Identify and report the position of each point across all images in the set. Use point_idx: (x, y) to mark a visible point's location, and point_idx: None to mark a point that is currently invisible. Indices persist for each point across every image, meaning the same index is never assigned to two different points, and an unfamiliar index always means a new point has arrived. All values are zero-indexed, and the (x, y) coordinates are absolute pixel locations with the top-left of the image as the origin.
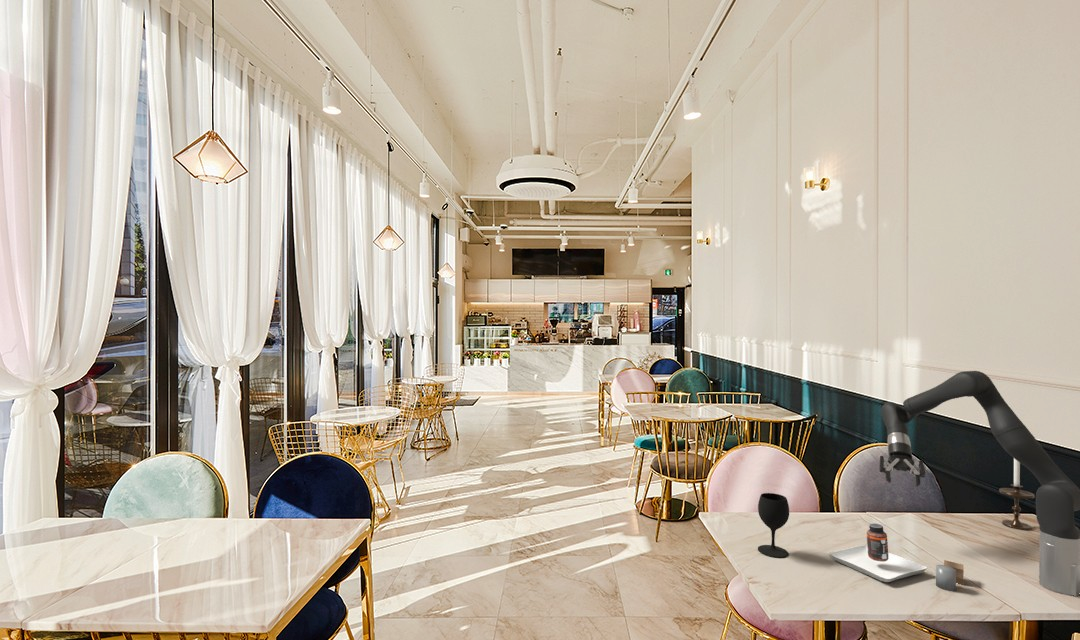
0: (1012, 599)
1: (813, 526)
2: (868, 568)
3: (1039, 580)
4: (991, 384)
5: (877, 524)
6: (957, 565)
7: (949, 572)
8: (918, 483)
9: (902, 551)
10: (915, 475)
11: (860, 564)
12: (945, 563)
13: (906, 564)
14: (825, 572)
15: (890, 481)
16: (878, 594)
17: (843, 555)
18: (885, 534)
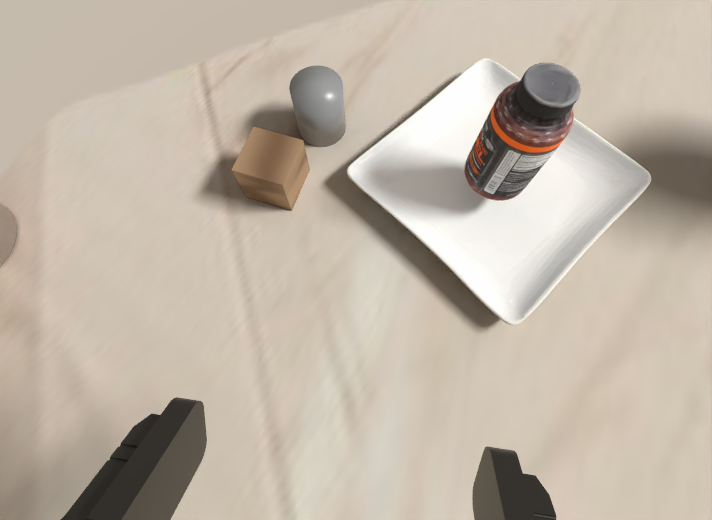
0: (173, 119)
1: None
2: None
3: (3, 248)
4: None
5: (545, 94)
6: (256, 155)
7: (315, 68)
8: (175, 398)
9: (367, 381)
10: (123, 513)
11: (540, 182)
12: (290, 156)
13: (398, 208)
14: (638, 96)
15: (483, 461)
16: (507, 29)
17: (597, 213)
18: (503, 92)
